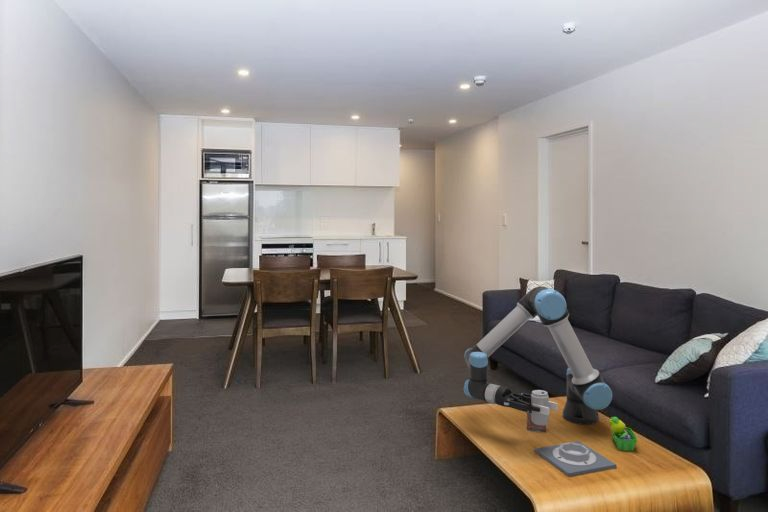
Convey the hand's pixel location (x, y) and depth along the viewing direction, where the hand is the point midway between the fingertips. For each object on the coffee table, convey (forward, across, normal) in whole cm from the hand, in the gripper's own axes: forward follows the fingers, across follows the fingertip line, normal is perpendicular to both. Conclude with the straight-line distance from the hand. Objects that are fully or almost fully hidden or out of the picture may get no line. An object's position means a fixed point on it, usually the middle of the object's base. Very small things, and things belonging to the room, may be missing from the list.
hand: (553, 409), depth 181 cm
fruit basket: (+15, -26, -18) cm, 36 cm away
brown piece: (-16, -17, -18) cm, 30 cm away
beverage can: (-5, 0, -7) cm, 9 cm away
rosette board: (+7, -2, -18) cm, 19 cm away
